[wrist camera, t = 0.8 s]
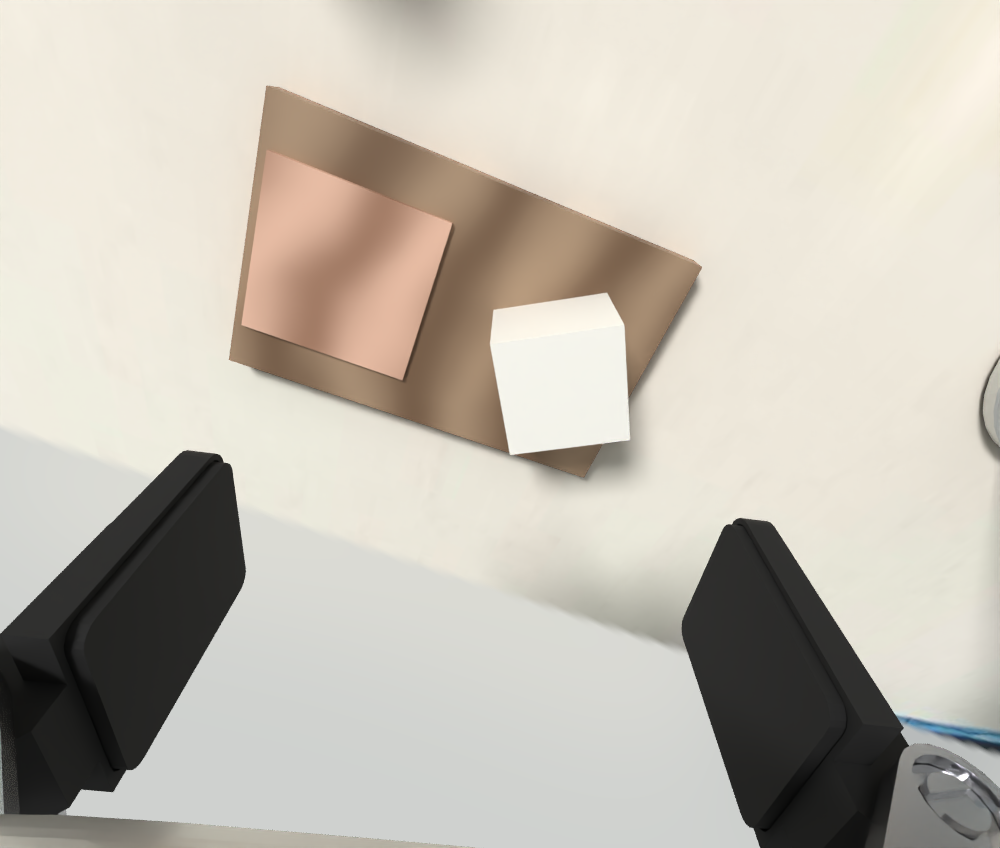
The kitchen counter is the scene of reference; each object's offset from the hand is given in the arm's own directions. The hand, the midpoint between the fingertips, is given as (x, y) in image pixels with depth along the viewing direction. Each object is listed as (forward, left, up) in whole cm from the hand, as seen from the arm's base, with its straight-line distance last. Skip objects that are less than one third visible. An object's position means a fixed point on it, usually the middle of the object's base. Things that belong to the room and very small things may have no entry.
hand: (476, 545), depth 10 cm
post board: (+2, +3, -21) cm, 22 cm away
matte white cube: (-4, +3, -20) cm, 21 cm away
